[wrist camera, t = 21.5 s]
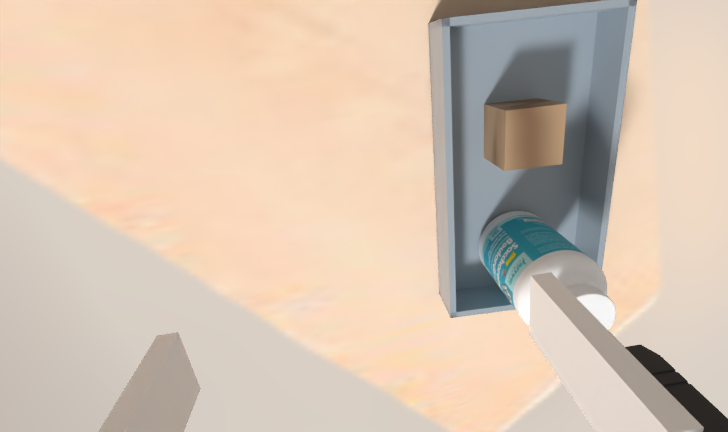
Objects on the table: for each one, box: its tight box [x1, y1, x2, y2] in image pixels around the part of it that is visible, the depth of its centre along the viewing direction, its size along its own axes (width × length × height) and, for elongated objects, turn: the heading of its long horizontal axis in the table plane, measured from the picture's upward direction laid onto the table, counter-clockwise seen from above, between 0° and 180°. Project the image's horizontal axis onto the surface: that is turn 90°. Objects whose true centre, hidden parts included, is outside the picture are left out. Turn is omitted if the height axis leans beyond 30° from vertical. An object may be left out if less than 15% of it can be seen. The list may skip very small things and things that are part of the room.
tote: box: [429, 0, 637, 318], centre depth 38 cm, size 27×15×4 cm, turn 6°
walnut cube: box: [484, 98, 567, 171], centre depth 35 cm, size 5×5×5 cm
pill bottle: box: [478, 211, 616, 330], centre depth 36 cm, size 8×7×14 cm
